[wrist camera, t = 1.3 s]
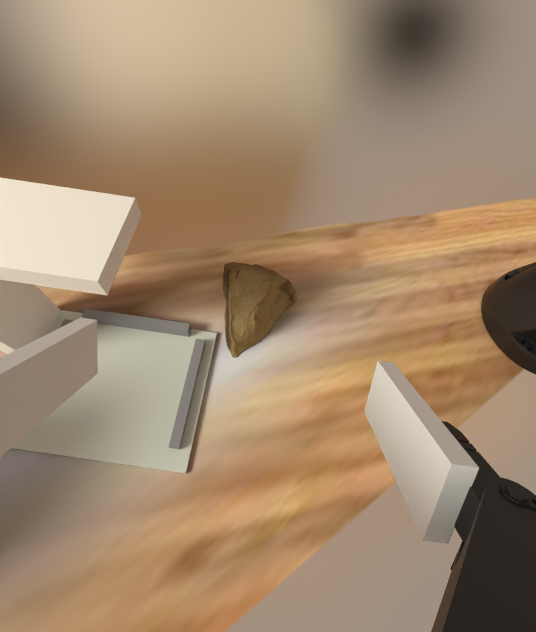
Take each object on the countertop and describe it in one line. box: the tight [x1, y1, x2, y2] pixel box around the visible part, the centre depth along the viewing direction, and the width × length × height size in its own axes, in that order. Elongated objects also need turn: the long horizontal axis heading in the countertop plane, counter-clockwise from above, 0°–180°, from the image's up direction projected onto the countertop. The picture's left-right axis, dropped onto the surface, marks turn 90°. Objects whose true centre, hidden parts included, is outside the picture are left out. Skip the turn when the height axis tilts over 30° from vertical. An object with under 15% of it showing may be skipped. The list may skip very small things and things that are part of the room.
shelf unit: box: [0, 178, 217, 473], centre depth 26 cm, size 21×15×20 cm
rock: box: [223, 262, 297, 357], centre depth 37 cm, size 11×9×10 cm
